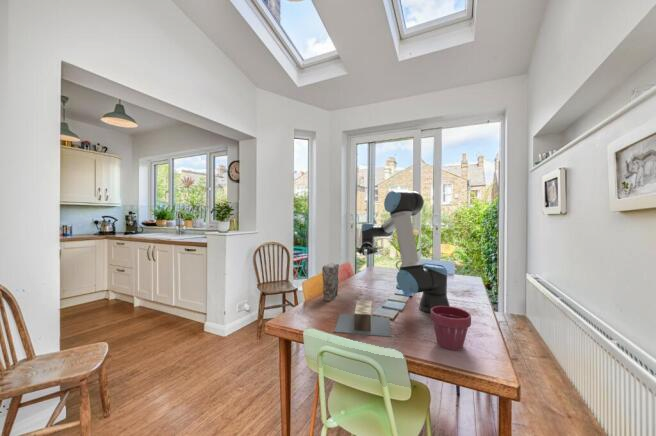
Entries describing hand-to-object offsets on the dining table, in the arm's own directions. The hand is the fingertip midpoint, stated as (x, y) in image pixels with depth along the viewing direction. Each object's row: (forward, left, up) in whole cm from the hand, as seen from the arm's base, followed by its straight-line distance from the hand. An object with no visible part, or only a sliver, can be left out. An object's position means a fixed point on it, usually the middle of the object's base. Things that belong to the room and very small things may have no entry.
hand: (365, 253), depth 145 cm
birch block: (0, +14, -25) cm, 29 cm away
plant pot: (-34, +37, -29) cm, 58 cm away
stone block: (+21, -10, -29) cm, 37 cm away
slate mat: (0, +25, -29) cm, 38 cm away
